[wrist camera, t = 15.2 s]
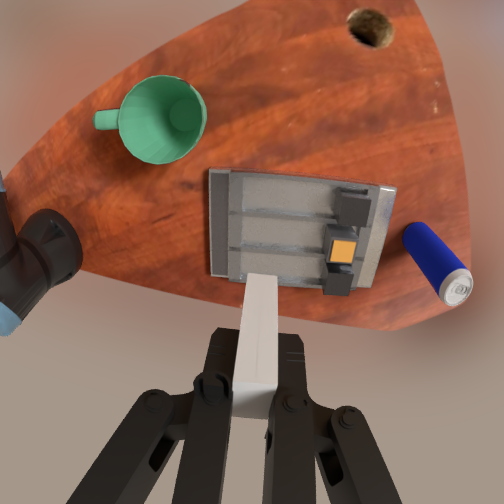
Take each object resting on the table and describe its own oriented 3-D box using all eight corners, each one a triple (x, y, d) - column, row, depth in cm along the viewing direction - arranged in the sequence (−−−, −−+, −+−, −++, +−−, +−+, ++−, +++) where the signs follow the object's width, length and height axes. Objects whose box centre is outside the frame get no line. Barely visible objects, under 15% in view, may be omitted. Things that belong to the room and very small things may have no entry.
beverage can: (397, 247, 42) (435, 307, 29) (406, 218, 39) (452, 271, 26) (422, 250, 41) (464, 308, 28) (431, 222, 39) (480, 274, 26)
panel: (212, 270, 46) (205, 291, 42) (211, 166, 38) (201, 176, 33) (368, 282, 45) (377, 303, 40) (393, 184, 37) (408, 197, 32)
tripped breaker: (322, 247, 41) (326, 263, 37) (326, 224, 39) (331, 237, 35) (347, 249, 41) (353, 265, 37) (352, 226, 39) (359, 240, 35)
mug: (225, 81, 32) (207, 73, 23) (218, 151, 37) (200, 167, 28) (125, 83, 32) (85, 83, 24) (123, 147, 37) (85, 163, 28)
